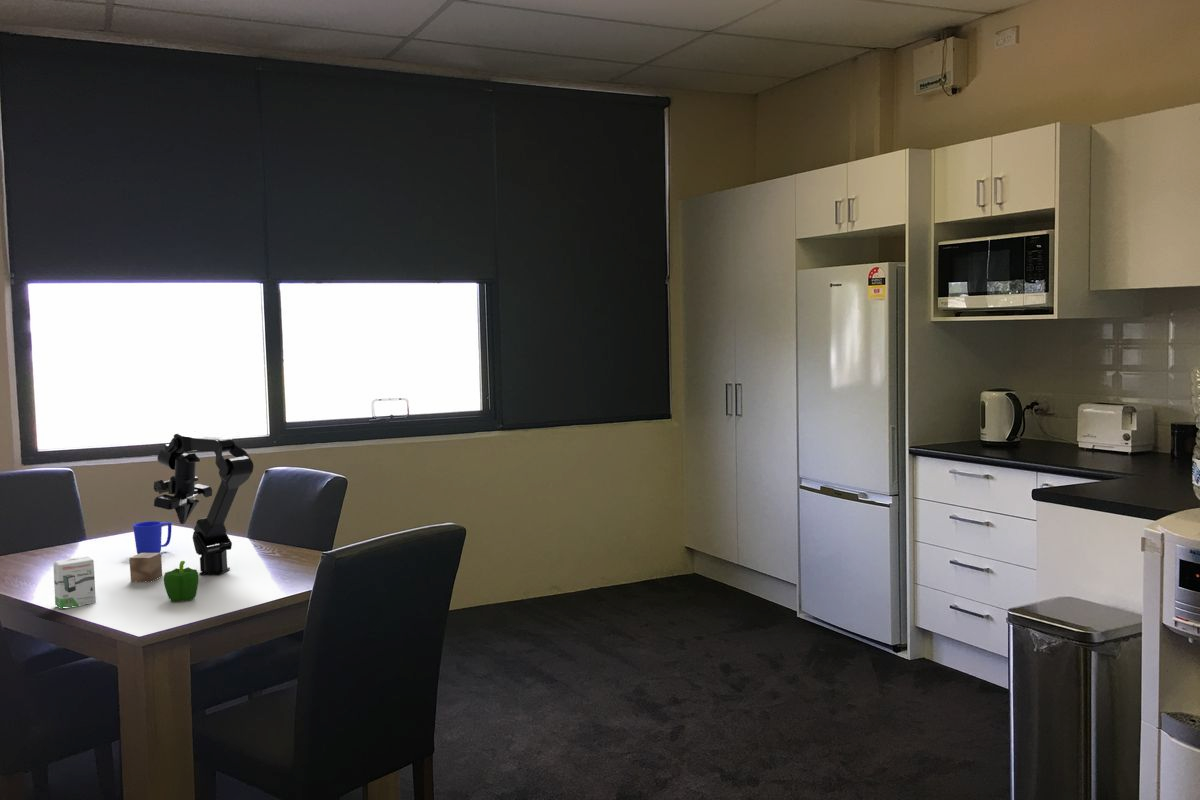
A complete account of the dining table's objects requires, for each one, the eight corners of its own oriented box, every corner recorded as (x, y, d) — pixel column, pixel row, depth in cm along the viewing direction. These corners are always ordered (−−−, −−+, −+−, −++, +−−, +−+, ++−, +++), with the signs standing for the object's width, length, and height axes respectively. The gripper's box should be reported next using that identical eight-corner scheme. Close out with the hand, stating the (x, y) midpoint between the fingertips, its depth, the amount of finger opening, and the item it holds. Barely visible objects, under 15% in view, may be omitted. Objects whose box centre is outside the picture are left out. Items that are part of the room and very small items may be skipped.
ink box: (60, 610, 247) (57, 564, 246) (54, 606, 250) (52, 561, 249) (96, 603, 253) (94, 558, 252) (91, 599, 256) (88, 555, 255)
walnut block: (162, 576, 279) (161, 552, 278) (151, 582, 273) (149, 557, 272) (142, 576, 279) (141, 552, 279) (130, 582, 273) (129, 557, 273)
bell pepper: (187, 605, 249) (185, 567, 248) (159, 604, 251) (156, 566, 250) (206, 595, 257) (204, 559, 257) (178, 595, 259) (176, 558, 258)
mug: (179, 551, 310) (178, 520, 309) (144, 559, 300) (143, 527, 299) (164, 548, 315) (162, 518, 314) (129, 556, 305) (127, 525, 304)
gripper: (184, 462, 298) (181, 510, 301) (139, 475, 281) (137, 526, 283) (214, 469, 295) (211, 518, 298) (171, 482, 278) (168, 534, 280)
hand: (182, 523), depth 290 cm, fingers closed
